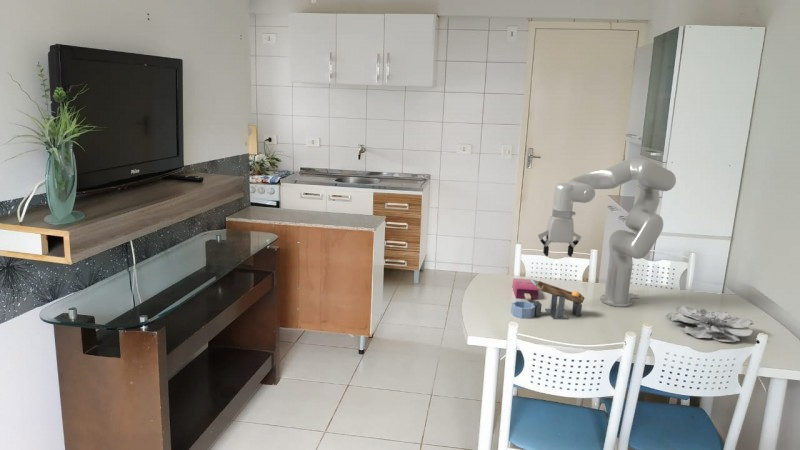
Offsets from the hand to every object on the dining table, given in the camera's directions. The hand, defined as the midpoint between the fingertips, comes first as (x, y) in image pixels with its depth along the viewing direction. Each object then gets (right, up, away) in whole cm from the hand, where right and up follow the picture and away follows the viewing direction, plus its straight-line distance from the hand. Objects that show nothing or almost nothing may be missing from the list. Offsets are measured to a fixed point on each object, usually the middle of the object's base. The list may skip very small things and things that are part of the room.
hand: (557, 255), depth 234 cm
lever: (-1, -15, -1) cm, 15 cm away
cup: (-15, -23, -3) cm, 28 cm away
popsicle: (-9, -19, +19) cm, 28 cm away
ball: (+6, -16, -3) cm, 17 cm away
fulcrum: (-1, -24, -2) cm, 24 cm away
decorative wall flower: (+57, -29, -9) cm, 64 cm away
